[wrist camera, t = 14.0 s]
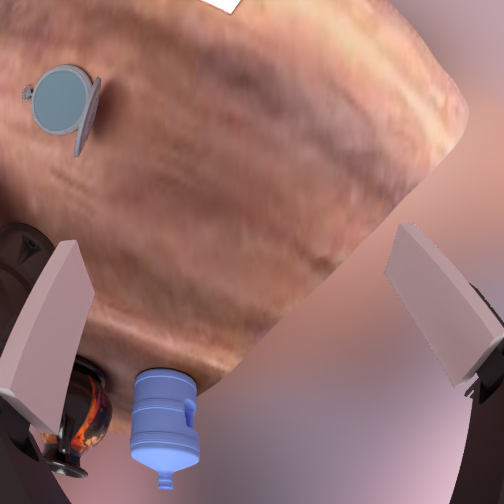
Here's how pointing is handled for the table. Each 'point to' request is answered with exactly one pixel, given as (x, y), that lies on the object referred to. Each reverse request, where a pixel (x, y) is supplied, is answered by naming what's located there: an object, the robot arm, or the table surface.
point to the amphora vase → (79, 420)
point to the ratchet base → (222, 4)
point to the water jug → (164, 423)
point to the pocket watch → (65, 102)
